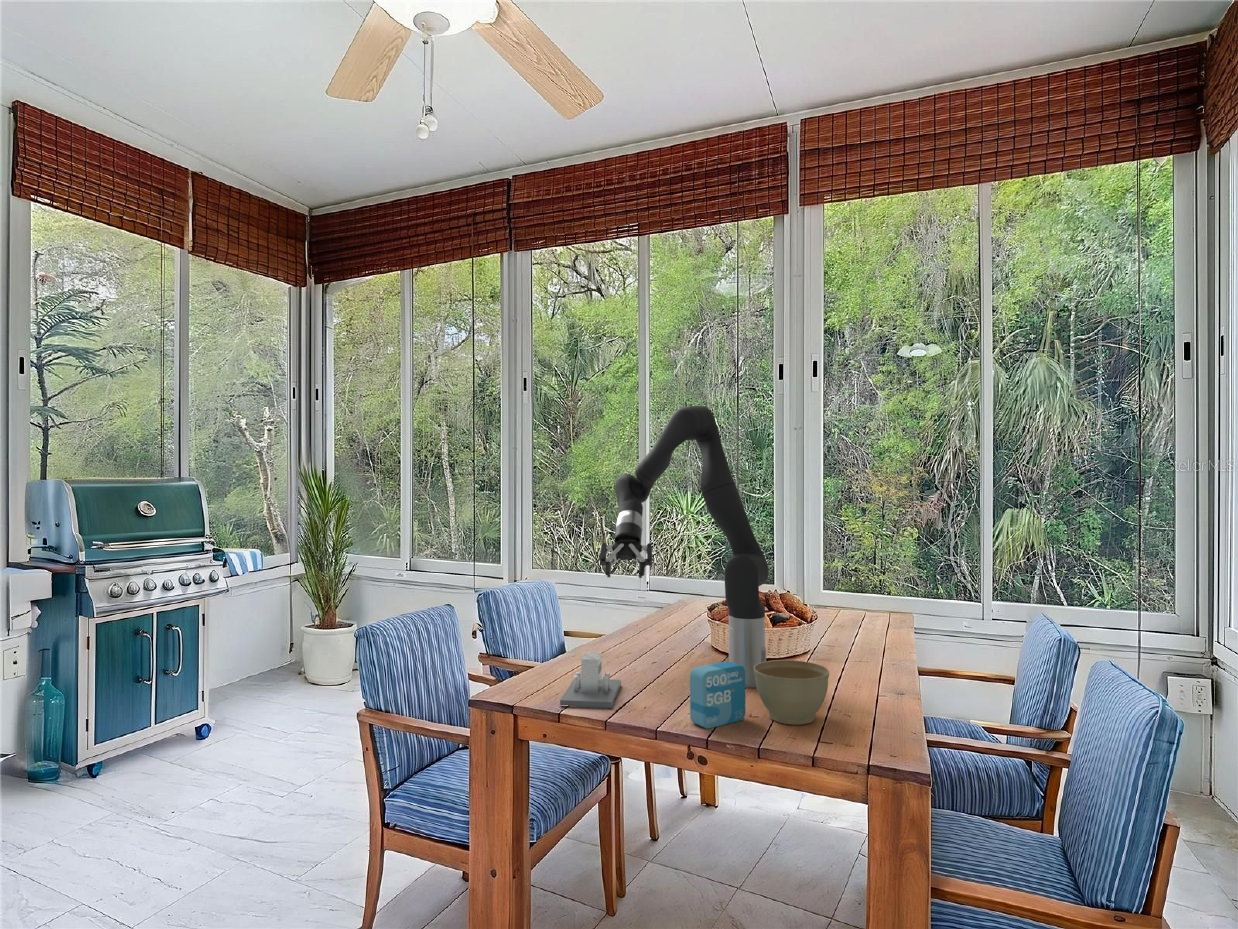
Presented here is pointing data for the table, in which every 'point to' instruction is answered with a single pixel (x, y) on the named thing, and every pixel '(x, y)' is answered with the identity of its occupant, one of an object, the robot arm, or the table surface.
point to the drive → (591, 673)
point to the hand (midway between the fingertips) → (624, 575)
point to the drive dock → (591, 694)
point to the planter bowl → (791, 689)
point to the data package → (717, 694)
